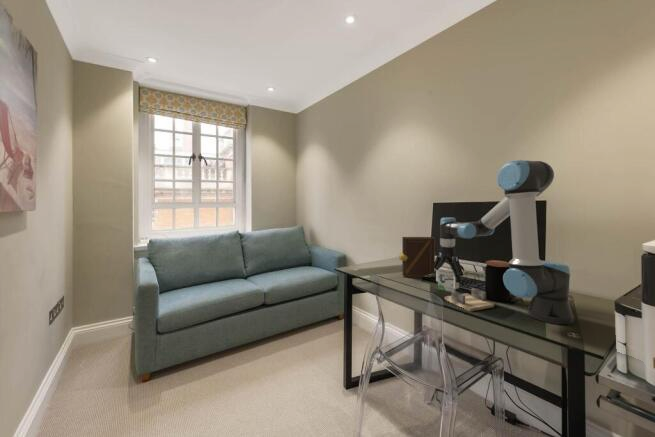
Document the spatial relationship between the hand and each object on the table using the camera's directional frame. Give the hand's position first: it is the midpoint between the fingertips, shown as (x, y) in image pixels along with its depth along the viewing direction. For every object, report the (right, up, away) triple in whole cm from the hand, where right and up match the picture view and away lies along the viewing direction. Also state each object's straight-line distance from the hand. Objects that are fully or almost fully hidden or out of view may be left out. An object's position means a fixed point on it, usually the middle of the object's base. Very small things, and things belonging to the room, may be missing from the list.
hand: (447, 284), depth 157 cm
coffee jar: (+19, -4, -15) cm, 24 cm away
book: (-8, -1, +28) cm, 29 cm away
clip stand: (+2, -4, -20) cm, 21 cm away
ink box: (0, -3, 0) cm, 3 cm away
